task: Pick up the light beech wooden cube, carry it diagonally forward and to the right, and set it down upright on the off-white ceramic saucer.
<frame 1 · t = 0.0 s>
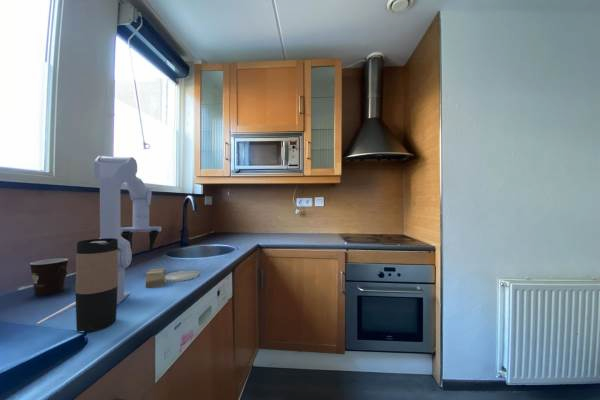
hand: (140, 249, 99), 10 cm above the countertop, fingers open, 7 cm apart
saucer: (182, 276, 95), on the countertop
beech cube: (155, 284, 86), on the countertop
fork: (72, 308, 68), on the countertop
travel mug: (97, 325, 57), on the countertop
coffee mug: (49, 293, 78), on the countertop
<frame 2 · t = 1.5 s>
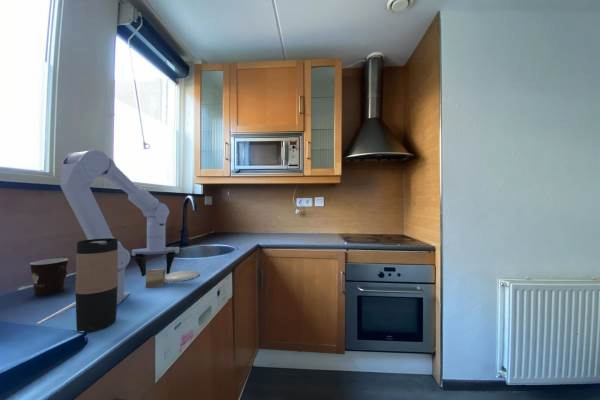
hand: (156, 274, 86), 4 cm above the countertop, fingers open, 7 cm apart
nothing on the countertop moved.
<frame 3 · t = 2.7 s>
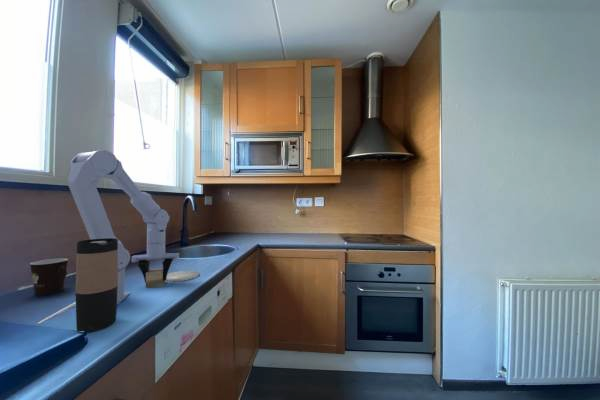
hand: (155, 280, 86), 1 cm above the countertop, fingers closed on beech cube, 5 cm apart
beech cube: (155, 284, 86), on the countertop, touching gripper
everything else where it was.
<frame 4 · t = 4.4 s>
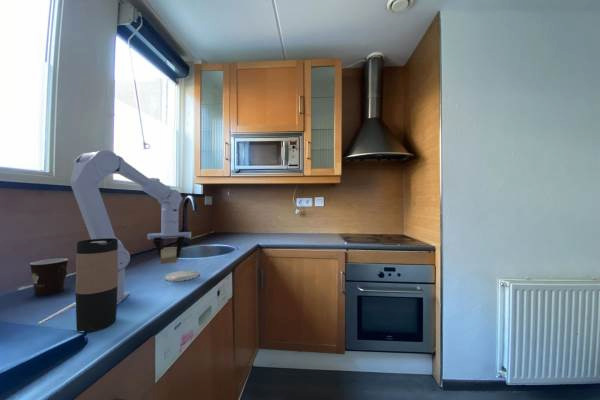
hand: (170, 257, 91), 9 cm above the countertop, fingers closed on beech cube, 5 cm apart
beech cube: (169, 261, 91), point 7 cm above the countertop, touching gripper
everything else where it was.
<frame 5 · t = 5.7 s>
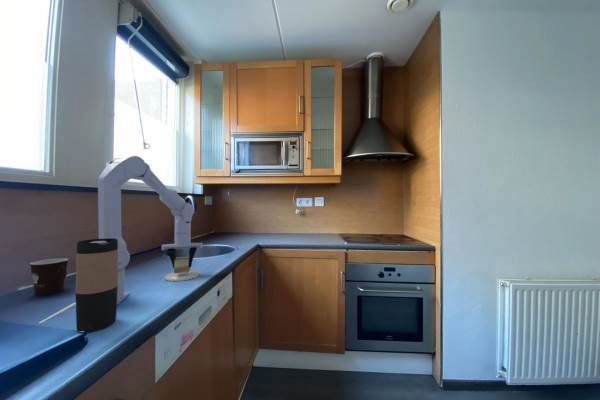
hand: (182, 267, 95), 4 cm above the countertop, fingers closed on beech cube, 5 cm apart
beech cube: (182, 271, 95), point 2 cm above the countertop, touching gripper
everything else where it was.
when the fingers open (4 cm above the countertop, at t = 6.5 s): beech cube drops 1 cm, resting on saucer.
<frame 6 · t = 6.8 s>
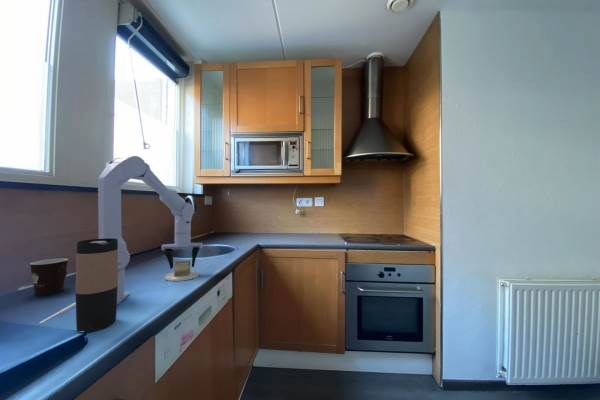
hand: (182, 267, 95), 4 cm above the countertop, fingers open, 7 cm apart
beech cube: (182, 274, 95), point 1 cm above the countertop, touching saucer
everything else where it was.
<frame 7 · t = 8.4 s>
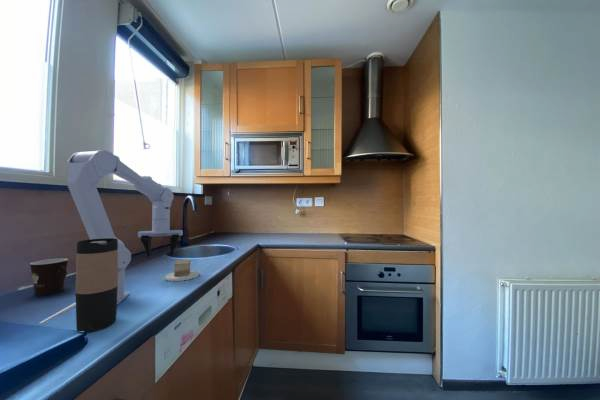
hand: (160, 255, 91), 9 cm above the countertop, fingers open, 7 cm apart
nothing on the countertop moved.
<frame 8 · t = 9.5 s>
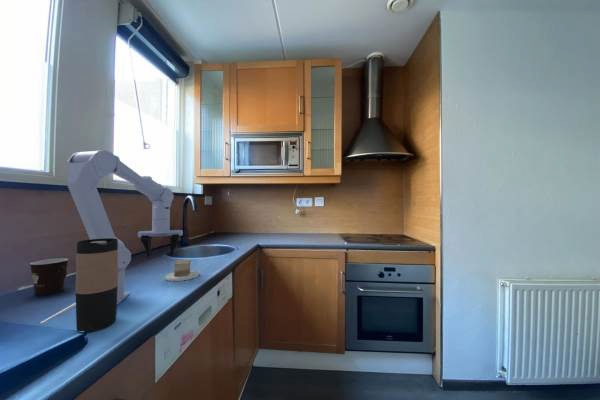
hand: (160, 255, 91), 9 cm above the countertop, fingers open, 7 cm apart
nothing on the countertop moved.
at the end: beech cube 0.1 cm off-centre on the saucer, point 0.8 cm above the saucer's base; beech cube tilted 0°; the gripper is holding nothing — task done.
